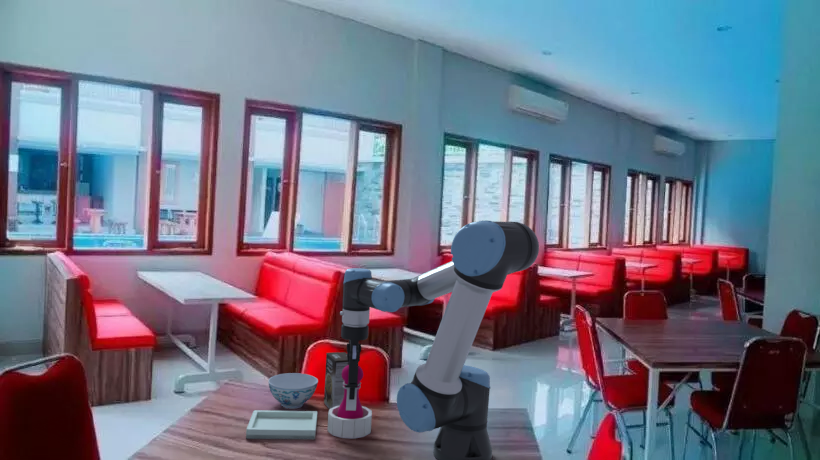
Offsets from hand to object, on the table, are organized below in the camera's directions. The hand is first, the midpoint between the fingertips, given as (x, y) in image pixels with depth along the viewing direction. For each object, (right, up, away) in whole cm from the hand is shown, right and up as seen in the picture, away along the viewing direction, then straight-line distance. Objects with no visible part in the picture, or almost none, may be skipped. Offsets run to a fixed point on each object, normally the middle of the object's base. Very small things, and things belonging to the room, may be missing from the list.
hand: (350, 405), depth 169 cm
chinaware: (-20, -5, +17) cm, 27 cm away
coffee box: (-6, -6, +18) cm, 19 cm away
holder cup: (0, -7, 0) cm, 7 cm away
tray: (-19, -6, -2) cm, 20 cm away
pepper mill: (0, -7, 0) cm, 7 cm away
